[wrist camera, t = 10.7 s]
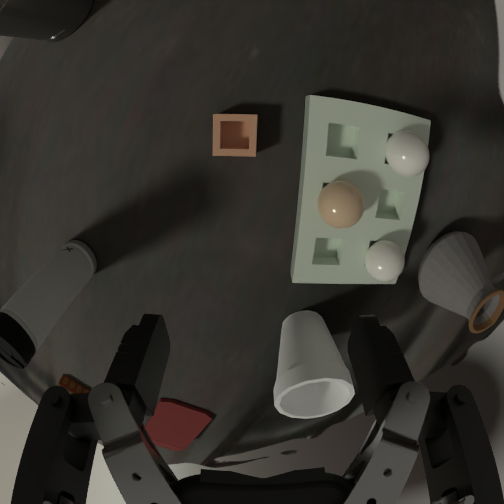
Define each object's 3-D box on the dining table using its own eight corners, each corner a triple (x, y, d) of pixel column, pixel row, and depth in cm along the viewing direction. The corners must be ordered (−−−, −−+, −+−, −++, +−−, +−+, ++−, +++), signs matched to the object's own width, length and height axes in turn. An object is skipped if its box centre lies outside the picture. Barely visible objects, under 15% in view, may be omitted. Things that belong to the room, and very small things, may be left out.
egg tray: (305, 96, 25) (310, 94, 23) (419, 119, 25) (430, 120, 23) (290, 271, 35) (292, 282, 33) (388, 273, 35) (395, 283, 33)
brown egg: (316, 172, 27) (327, 185, 23) (359, 178, 27) (376, 192, 23) (310, 215, 30) (318, 235, 25) (351, 219, 30) (365, 238, 25)
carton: (63, 372, 51) (57, 385, 47) (118, 405, 56) (113, 418, 52) (60, 383, 54) (54, 394, 50) (110, 413, 59) (105, 425, 55)
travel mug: (72, 229, 33) (-22, 319, 15) (104, 260, 35) (25, 366, 17) (58, 255, 35) (-21, 342, 17) (87, 283, 37) (20, 381, 19)
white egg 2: (380, 124, 24) (401, 128, 20) (417, 133, 24) (441, 139, 20) (375, 167, 27) (394, 178, 22) (411, 173, 27) (433, 185, 22)
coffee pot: (429, 302, 38) (472, 370, 24) (397, 264, 34) (449, 341, 21) (509, 213, 29) (568, 257, 16) (487, 161, 26) (563, 198, 13)
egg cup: (216, 114, 26) (213, 114, 24) (257, 114, 26) (257, 114, 24) (216, 152, 28) (212, 155, 26) (255, 153, 28) (255, 156, 26)
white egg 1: (364, 232, 30) (379, 251, 26) (398, 234, 30) (416, 253, 26) (356, 267, 32) (368, 290, 28) (389, 268, 32) (404, 290, 28)
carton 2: (165, 382, 54) (141, 428, 61) (161, 398, 49) (137, 441, 56) (215, 400, 57) (180, 441, 64) (214, 416, 52) (179, 455, 59)
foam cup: (274, 350, 42) (277, 421, 31) (267, 306, 38) (270, 384, 26) (333, 342, 41) (350, 411, 30) (335, 297, 37) (359, 371, 25)
